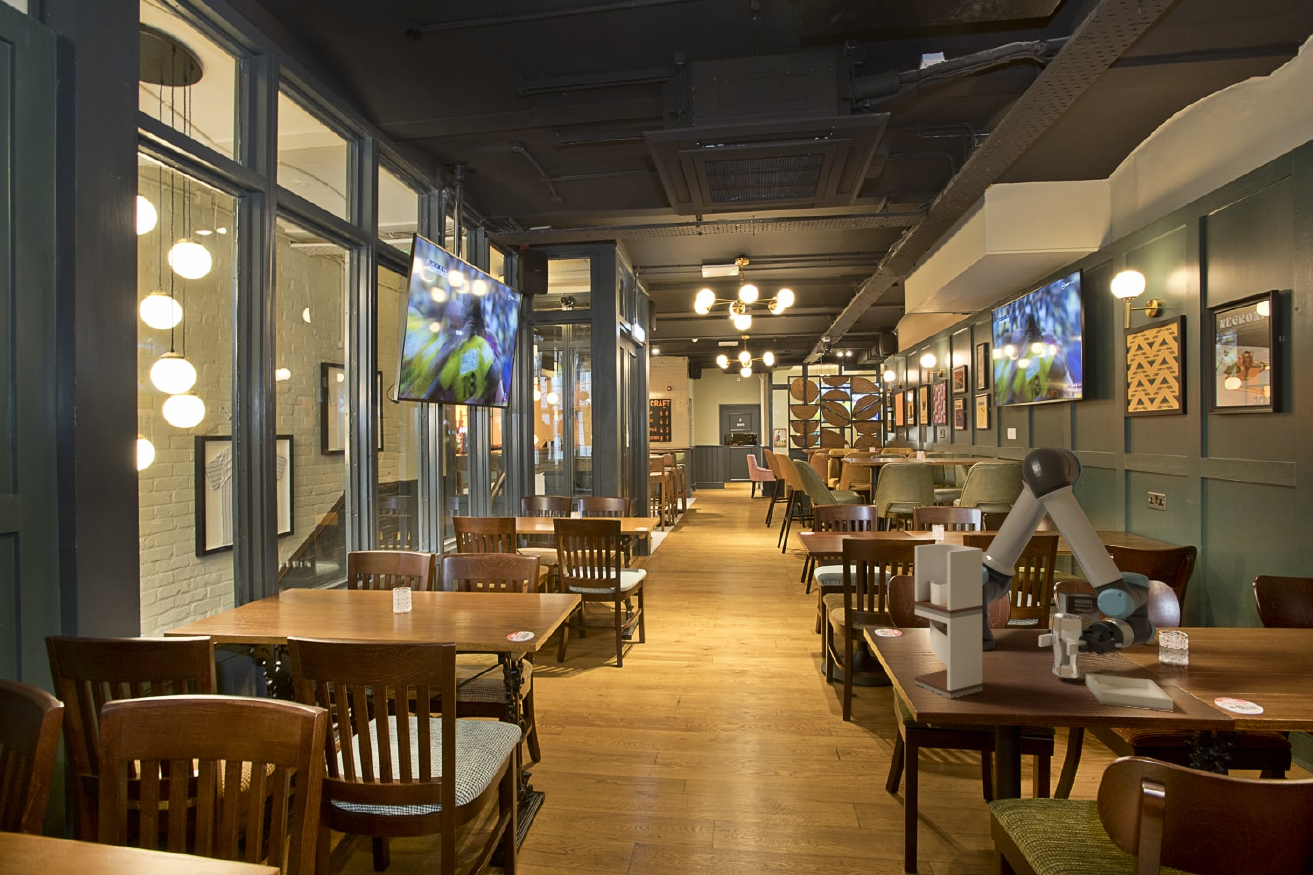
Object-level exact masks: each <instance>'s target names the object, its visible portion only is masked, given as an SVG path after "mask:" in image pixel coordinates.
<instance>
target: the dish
mask: <svg viewBox="0 0 1313 875" xmlns="http://www.w3.org/2000/svg"><path fill="white" fill-rule="evenodd" d="M1084 675H1085V677H1084V678H1085V679H1084V680H1085V682H1084V683H1085V685H1086V687H1087V688H1088V689H1089V691H1090V692H1091V693H1092V694H1093V695H1094V697H1095V699H1097V701H1098V702H1099V704H1100V705H1103V706H1104V704H1105V706H1111V705H1114V706H1113V707H1120V706H1131V707H1138V708H1149V709H1156V710H1169V711H1173V712H1174V699H1173V698H1171V697H1170V696H1169V695H1168V693H1166V692H1165V691H1164V690H1163V689H1162V688H1161V687H1160V686H1158V684H1156V682H1154V681H1153V680H1152V679H1147V678H1138V677H1129V676H1120V675H1119V676H1118V675H1110V674H1109V675H1108V674H1101V673H1100V674H1099V673H1089V672H1085V674H1084Z"/></svg>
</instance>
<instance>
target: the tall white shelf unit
mask: <svg viewBox="0 0 1313 875" xmlns="http://www.w3.org/2000/svg"><path fill="white" fill-rule="evenodd" d="M982 552H983V548H979V547H974V546H973V547H972V546H968V545H959V544H953V543H947V542H944V543H943V542H942V543H932V544H922V545H914V615H916V616H919V617H923V618H925V619H926V618H927V619H928V620H929V648H930V651H931V652H932V655H934V656H935V658H936V659H938V660H939V661H940V662H941V663H942V664H944V665H946V669H943V670H938V671H934V672H930V673H926V674H922V675H917V676H914V684H915V683H916V684H918V685H920V686H922V687H924V688H926V689H931V690H933V691H935V692H937V693H940V694H941V695H944V696H948V697H949V698H951V697H956V696H962V697H964V696H963V695H966V696H968V695H967V694H970V695H972V694H971V693H974V692H978V691H982V692H983V651H982ZM924 688H923V689H924ZM926 689H925V690H926ZM978 693H979V692H978ZM974 694H975V693H974ZM941 695H940V696H941Z"/></svg>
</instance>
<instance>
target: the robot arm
mask: <svg viewBox="0 0 1313 875" xmlns="http://www.w3.org/2000/svg"><path fill="white" fill-rule="evenodd" d="M1021 466H1022V467H1021V468H1022V470H1021V471H1022V474H1023V479H1022V480H1021V481H1022V483H1023V484H1022V485H1023V487H1024V488H1023V490H1022V492H1020V495H1019V496H1018V498H1017V499H1016V501H1015V503H1014V504H1013V506H1012V508H1011V510H1010V511H1009V513H1008V515H1007V516H1006V518H1005V520H1004V521H1003V523H1002V525H1001V527H1000V528H999V530H998V531H997V533H996V534H995V537H994V538H993V540H992V542H991V543H990V544H989V546H988V548H987V550H986V551H982V652H984V651H990V650H993V649H994V648H995V637H994V634H993V631H992V629H991V626H990V623H989V619H988V618H989V603H992V602H996V601H998V600H1000V599H1003V598H1005V596H1006V595H1007V594H1009V593H1010V592H1009V591H1010V590H1011V588H1012V584H1013V581H1012V580H1013V578H1014V577H1015V575H1016V570H1015V565H1016V563H1017V562H1018V560H1019V559H1020V557H1021V555H1022V553H1023V552H1024V550H1025V548H1026V547H1027V545H1028V543H1029V542H1030V541H1031V539H1032V537H1033V536H1034V534H1035V532H1036V530H1037V529H1038V527H1039V525H1040V524H1041V522H1042V521H1043V520H1044V518H1045V516H1046V514H1047V513H1048V514H1049V515H1050V517H1051V519H1052V521H1053V522H1054V524H1055V526H1056V527H1057V529H1058V531H1059V533H1060V534H1061V536H1062V538H1063V539H1064V541H1065V542H1066V544H1067V546H1068V548H1069V550H1070V551H1071V553H1072V554H1073V556H1074V558H1075V561H1077V563H1078V566H1080V568H1081V570H1082V571H1083V573H1084V575H1085V577H1086V578H1087V581H1088V583H1089V584H1090V585H1091V587H1092V589H1093V591H1094V592H1095V595H1096V596H1098V601H1097V603H1098V607H1099V609H1100V612H1101V613H1102V614H1103V615H1104V616H1106V617H1107V618H1115V619H1109V620H1105V621H1099V622H1094V623H1092V624H1091V625H1090V626H1089V627H1088V628H1085V629H1083V641H1081V642H1075V643H1069V644H1067V655H1069V656H1071V655H1076V654H1080V655H1081V654H1085V653H1089V654H1093V653H1094V652H1095V654H1096V655H1098V656H1100V655H1101V656H1102V655H1105V654H1108V653H1111V652H1115V651H1122V650H1123V649H1124V648H1127V647H1133V646H1141V645H1145V644H1144V643H1147V642H1149V641H1151V640H1152V639H1154V638H1156V636H1157V635H1156V634H1157V628H1156V625H1155V624H1154V621H1153V620H1152V619H1151V618H1149V604H1150V601H1149V600H1150V599H1149V598H1150V594H1149V593H1150V590H1151V588H1150V586H1149V584H1150V581H1149V577H1148V576H1146V575H1145V574H1142V573H1138V572H1137V573H1136V572H1131V571H1129V572H1127V571H1120V569H1119V568H1118V567H1117V565H1116V563H1115V562H1114V560H1113V558H1112V557H1111V555H1110V554H1109V551H1108V550H1107V549H1106V547H1105V545H1104V543H1103V542H1102V540H1101V538H1100V537H1099V535H1098V534H1097V532H1096V530H1095V529H1094V527H1093V525H1092V524H1091V522H1090V520H1089V519H1088V517H1087V516H1086V514H1085V512H1084V510H1083V509H1082V507H1081V506H1080V504H1079V502H1078V501H1077V499H1076V497H1075V495H1074V494H1073V492H1072V491H1073V490H1072V489H1073V487H1074V486H1073V485H1074V484H1076V483H1077V482H1078V481H1079V480H1080V478H1081V477H1082V474H1083V463H1082V460H1081V459H1080V457H1079V456H1078V455H1077V454H1076V453H1075V452H1073V451H1072V450H1070V449H1067V448H1064V447H1059V446H1053V447H1039V448H1036V449H1033V450H1032V451H1030V452H1029V453H1028V454H1027V455H1026V456H1025V458H1024V459H1023V461H1022V465H1021ZM1048 646H1053V644H1052V637H1051V628H1050V629H1046V633H1045V634H1040V635H1038V647H1040V648H1043V647H1048ZM1122 648H1123V649H1122Z"/></svg>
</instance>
